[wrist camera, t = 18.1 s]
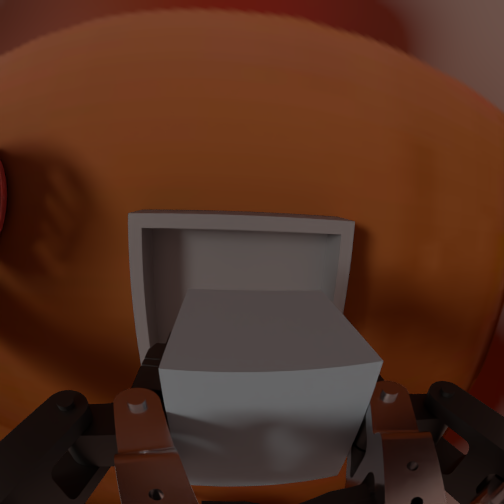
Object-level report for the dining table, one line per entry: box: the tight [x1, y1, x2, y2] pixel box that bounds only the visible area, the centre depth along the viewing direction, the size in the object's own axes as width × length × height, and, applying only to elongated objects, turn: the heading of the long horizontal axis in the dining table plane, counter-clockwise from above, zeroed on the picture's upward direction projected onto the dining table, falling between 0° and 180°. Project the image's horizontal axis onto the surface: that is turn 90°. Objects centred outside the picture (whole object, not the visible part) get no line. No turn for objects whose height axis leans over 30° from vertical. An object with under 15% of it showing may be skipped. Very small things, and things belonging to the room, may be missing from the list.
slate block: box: [158, 289, 383, 486], centre depth 8 cm, size 5×5×5 cm
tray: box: [128, 210, 355, 366], centre depth 22 cm, size 16×16×4 cm
